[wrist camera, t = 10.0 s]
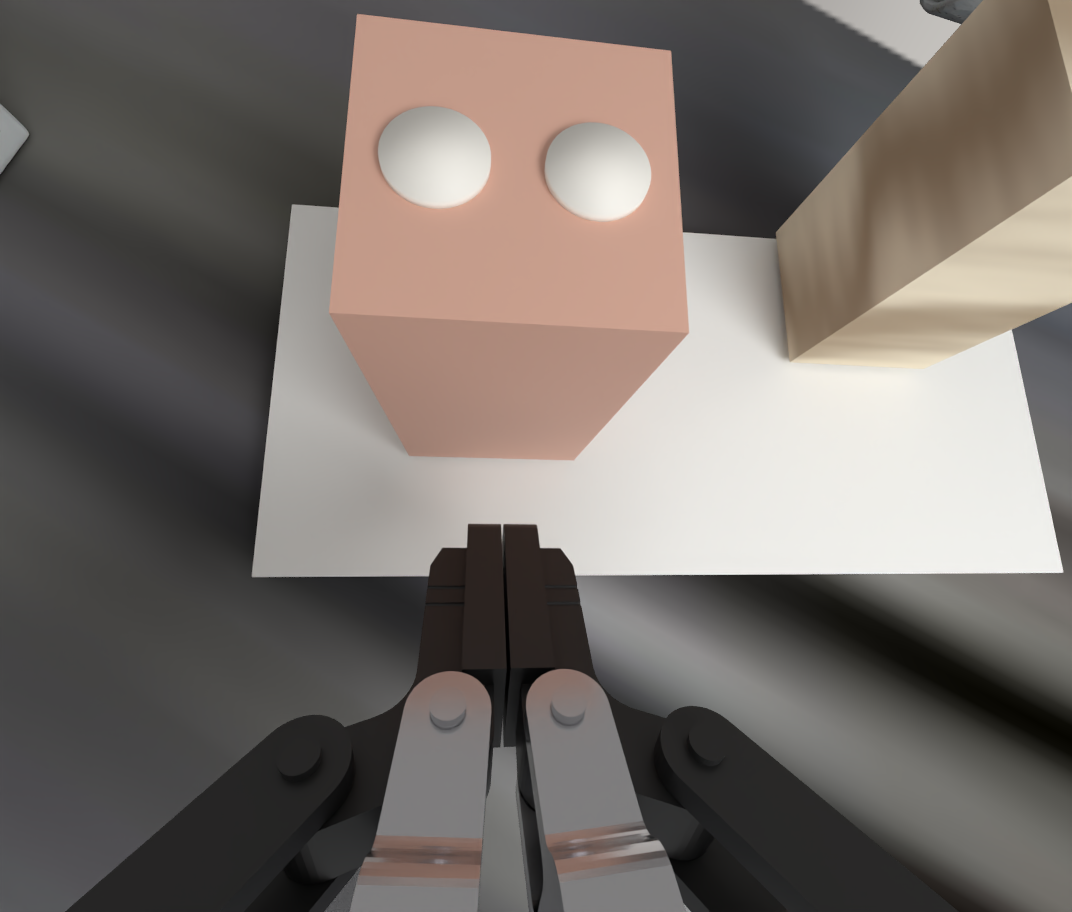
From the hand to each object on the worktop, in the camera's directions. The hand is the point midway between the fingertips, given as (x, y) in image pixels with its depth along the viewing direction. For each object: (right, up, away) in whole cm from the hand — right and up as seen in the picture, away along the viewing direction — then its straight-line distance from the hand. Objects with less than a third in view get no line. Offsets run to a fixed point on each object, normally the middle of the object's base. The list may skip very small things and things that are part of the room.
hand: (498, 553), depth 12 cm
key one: (+12, +8, +7) cm, 16 cm away
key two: (0, +5, +5) cm, 7 cm away
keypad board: (+6, +4, +7) cm, 10 cm away
